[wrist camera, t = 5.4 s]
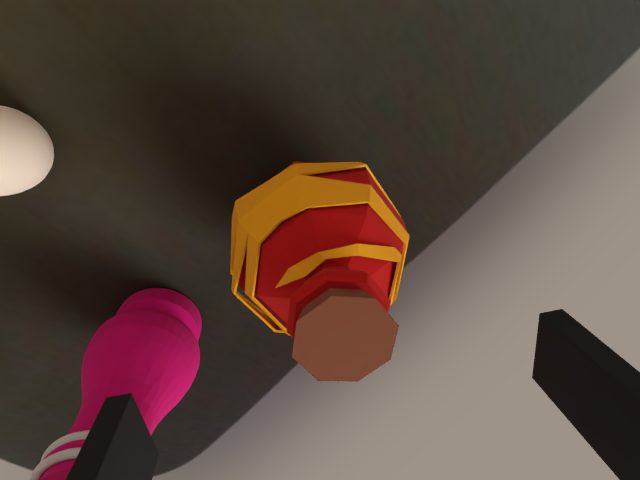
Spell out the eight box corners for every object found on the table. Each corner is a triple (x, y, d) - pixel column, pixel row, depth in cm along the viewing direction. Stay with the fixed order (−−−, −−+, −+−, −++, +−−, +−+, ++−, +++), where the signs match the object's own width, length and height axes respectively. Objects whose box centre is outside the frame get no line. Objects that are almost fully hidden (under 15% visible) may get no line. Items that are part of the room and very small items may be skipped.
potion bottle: (362, 117, 26) (462, 171, 12) (390, 251, 30) (487, 400, 17) (211, 161, 26) (146, 263, 12) (261, 288, 30) (252, 467, 17)
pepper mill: (103, 345, 31) (-139, 744, 13) (122, 269, 28) (-142, 625, 10) (194, 366, 33) (98, 741, 14) (220, 295, 30) (142, 639, 12)
